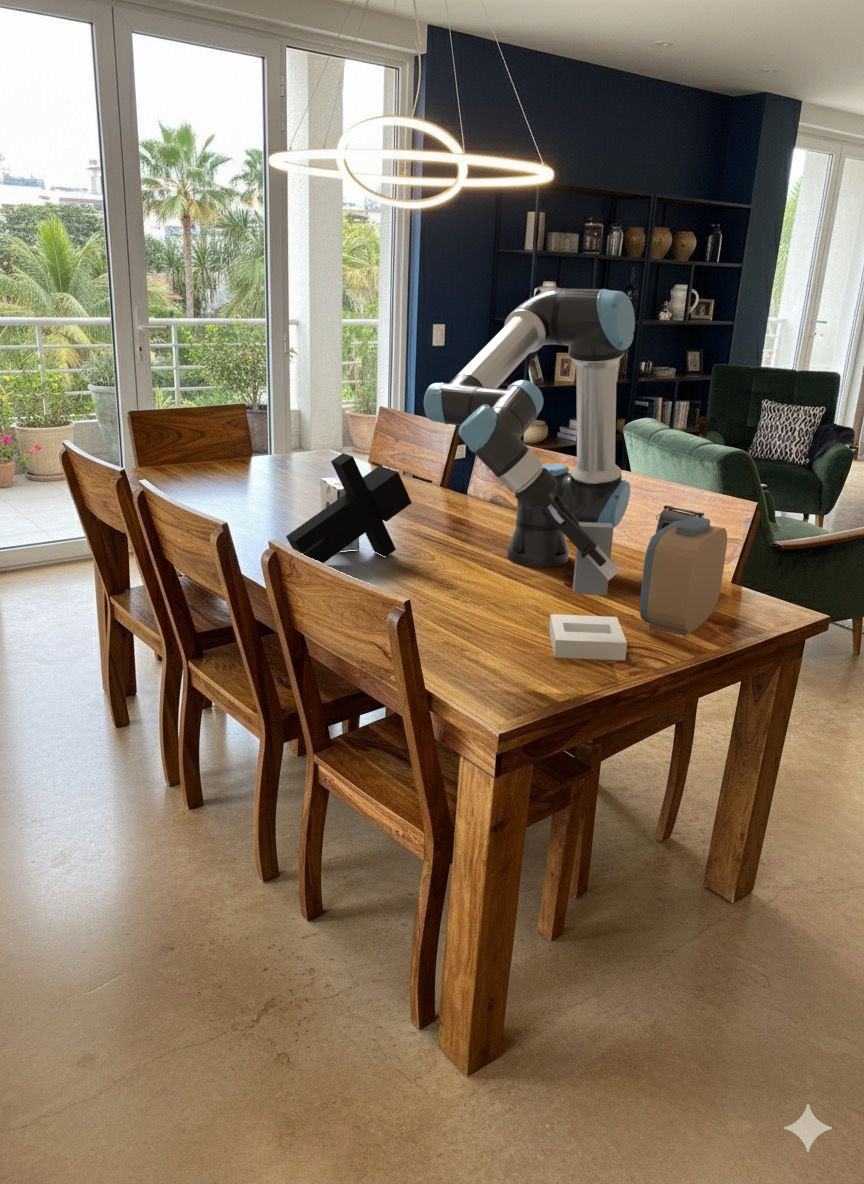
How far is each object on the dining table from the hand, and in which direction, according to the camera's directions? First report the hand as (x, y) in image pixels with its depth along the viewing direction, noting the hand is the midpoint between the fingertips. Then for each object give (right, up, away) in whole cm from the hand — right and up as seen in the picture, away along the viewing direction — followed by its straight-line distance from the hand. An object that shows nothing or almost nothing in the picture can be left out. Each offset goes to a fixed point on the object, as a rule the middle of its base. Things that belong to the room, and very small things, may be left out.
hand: (612, 571), depth 166 cm
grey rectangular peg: (-4, -4, +2) cm, 6 cm away
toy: (-54, +3, +51) cm, 74 cm away
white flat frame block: (-4, -14, +6) cm, 16 cm away
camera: (+22, -4, +37) cm, 43 cm away
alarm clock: (+17, -11, +17) cm, 26 cm away
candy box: (-57, +8, +63) cm, 86 cm away
